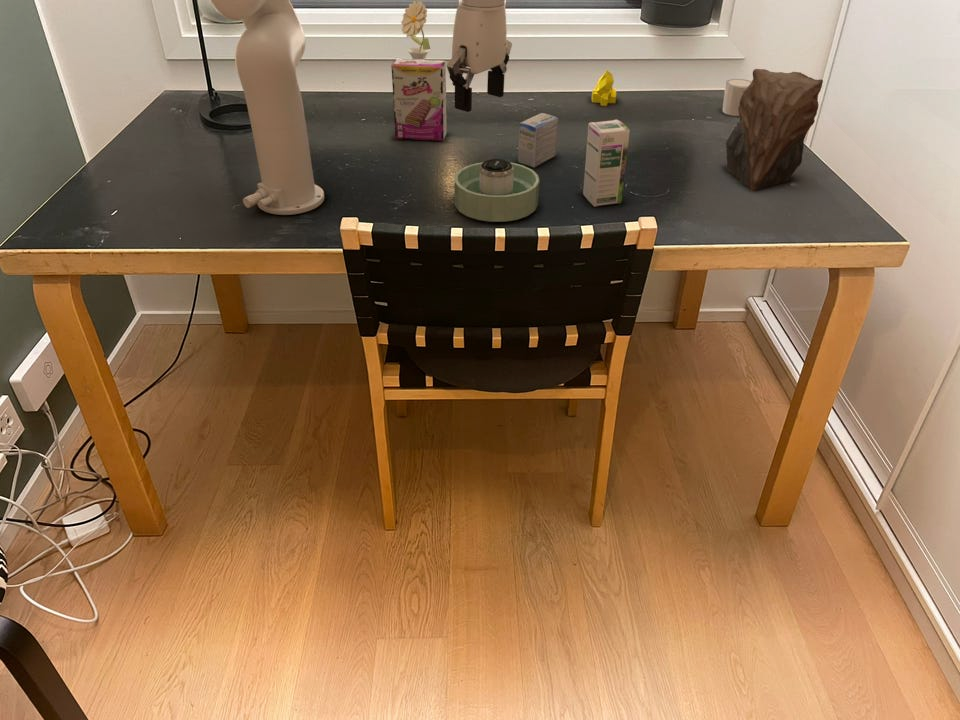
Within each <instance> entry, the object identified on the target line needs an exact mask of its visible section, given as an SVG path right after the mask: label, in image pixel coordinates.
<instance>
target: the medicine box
mask: <svg viewBox="0 0 960 720" xmlns="http://www.w3.org/2000/svg"><path fill="white" fill-rule="evenodd" d="M518 128H519V130H518V150H517V151H518V154H517V162H518V164H520V165H523V166H526V167H527V166H528V167H530V168H536V167H538V166H539V165H542V164H544V163H545V162H547V161H549V160H551V159H552V158H555V157H556V154H557V144H558V143H557V141H558V128H559V118H558V117H557V116H554V115H551V114H548V113H544V112H541V113H538V114H537V115H534V116H531V117H530V118H528V119H525V120H523V121H522V122H519V127H518Z"/></svg>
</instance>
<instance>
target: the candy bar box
mask: <svg viewBox="0 0 960 720" xmlns="http://www.w3.org/2000/svg"><path fill="white" fill-rule="evenodd" d="M391 83H392V99H393V100H392V101H393V117H394V118H393V119H394V135H395V140H410V141H411V140H412V141H429V142H430V141H432V142H444V141H445V138H446V136H447V133H448V131H447V130H448V125H447V64H446V60H436V59H425V60H418V59H412V58H394V60H393V62H392V63H391Z"/></svg>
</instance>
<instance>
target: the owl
mask: <svg viewBox="0 0 960 720" xmlns="http://www.w3.org/2000/svg"><path fill="white" fill-rule="evenodd" d="M751 81H752V82H751V83H750V85H749V86H748V88H747V89H746V90H745V91H743V95H742V97H741V99H740V105H739V107H738V111H739V116H738V117H739V121H738V122H736V125H735V126H734V127H733V130H732V132H731V133H730V135H729V136H728V138H727V140H726V141H725V149H726V168H725V170H726V171H727V173H729V174H731V175H732V176H733V178H736V179H737V180H738V181H740V184H741V185H743V186H744V187H747V189H749V190H751V191H753V192H755V191H757V190H761V189H764V188H765V189H766V188H769V187H771V186H778V185H780V184H781V183H782V184H783V183H788V182H790V181H791V180H792V175H793V174H794V173H795V172H796V170H797V169H798V168H799V167H801V164H802V162H803V152H804V146H805V145H804V143H805V139H806V136H807V135H808V132H809V130H810V129H811V128H812V127H813V125H814V123H815V118H816V117H817V114H818V110H819V101H818V100H819V99H818V96H819V93H820V92H821V90H822V88H823V84H824V79H815V78H813V77H810V76H808V75H806V74H805V73H802V72H800V71H799V72H798V71H792V72H783V71H778V72H777V71H770V70H768V69H765V68H755V69H753V70H752V80H751Z"/></svg>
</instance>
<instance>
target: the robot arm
mask: <svg viewBox="0 0 960 720" xmlns="http://www.w3.org/2000/svg"><path fill="white" fill-rule="evenodd" d="M506 1H507V0H458V6H457V7H456V11H455V17H454V22H453V31H452V32H453V33H452V43H451V44H452V45H451V58H450V59H449V60H448V62H447V64H446V69H447V71H448V73H449V79H450V81H451V83H452V86H454V108H455V109H456V110H459V111H462V112H466V113H469V112H471V111H472V107H473V105H472V102H473V87H471V83H472V81H473V79H474V76H475V75H478V74H480V73H483V72H485V71H487V85H486V86H487V89H486V93H487V94H488V95H489V96H493V97H498V98H503V97H504V95H505V94H504V93H505V92H504V91H505V76H506V75H505V74H506V73H507V71H508V70H507V69H508V67H507V64H508V63H509V60H510V54H511V51H512V47H513V43H512V42H511V41H510V40H508V39H507V34H508V33H507V11H506ZM209 2H210V4H211V6H212V7H213V9H214V10H215V11H216V12H217V13H218V14H220V15H221V16H222V17H224V18H225V19H227V20H231V21H241V22H242V24H243V26H244V28H245V30H244V31H243V32H242V34H241V35H240V37H239V39H238V41H237V43H236V46H235V52H234V62H235V68H236V72H237V75H238V78H239V81H240V85H241V88H242V90H243V95H244V98H245V102H246V108H247V112H248V117H249V123H250V127H251V132H252V137H253V143H254V148H255V154H256V160H257V164H258V171H259V175H260V179H261V180H260V181H261V182H258V183H257V184H256V186H257V190H255V192H254V193H253V194H249V195H247V196H245V197H244V198H243V199H242V204H243V205H244V206H245V208H247V209H250V208H252V207H255V206H256V205H257V207H258V208H259V209H260V210H261V211H263V212H265V213H268V214H272V215H279V216H292V215H293V216H294V215H298V214H304V213H307V212H310V211H313V210H315V209H316V208H318V207H319V206H321V205H322V204H323V203H324V201H325V192H324V189H323V188H322V187H320V186H319V185H317V184H316V183H315V179H314V178H315V177H314V172H313V165H312V164H313V163H312V157H311V150H310V142H309V136H308V128H307V121H306V116H305V115H306V114H305V109H304V102H303V98H302V97H303V96H302V93H301V88H300V85H299V81H298V77H297V67H298V65H299V62H300V61H301V60H302V58H303V55H304V53H305V50H306V35H305V32H304V29H303V26H302V23H301V22H300V18H299V17H298V15H297V13H296V11H295V8H294V7H293V4H292V2H291V0H209ZM463 74H466V76H465V77H464V75H463Z"/></svg>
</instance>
